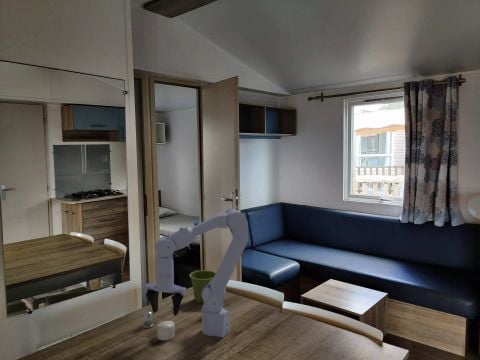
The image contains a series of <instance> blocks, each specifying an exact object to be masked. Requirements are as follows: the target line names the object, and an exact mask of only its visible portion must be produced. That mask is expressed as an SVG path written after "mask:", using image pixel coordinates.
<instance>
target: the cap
mask: <svg viewBox="0 0 480 360" xmlns="http://www.w3.org/2000/svg"><path fill="white" fill-rule="evenodd" d="M158 323H159V324H158V328H157V330H158V338H159V339H160V340H159V341H162V340H169V339H172V338H173V337H175V327H176V326H175V322H174V321H172V320H164V321H163V320H162V321H160V322H158Z"/></svg>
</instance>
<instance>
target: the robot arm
mask: <svg viewBox="0 0 480 360" xmlns="http://www.w3.org/2000/svg"><path fill="white" fill-rule="evenodd" d="M248 226H249V222H248V219H247V218H246V216H245V215H244V214H243V213H242V212H240V211H239V210H237V209H236V208H228V209H226V210H223V211H220V212H219V213H217V214H214V215H213V216H211V217H210V218H208V219H206V220H204V221H202V222H200V223H198V224H196V225H195V226H193V227H188V226H185V227H183V226H181V227H179V229H178V230H177V231H174V232H172V233H171V234H170V233H167V234H166V236H162V237H160V238H158V239H157V241H156V242H155V246H154V247H155V252H156V255H155V256H156V257H155V258H156V261H155V273H156V275H155V276H156V277H155V278H156V283H146V284H145V285H144V292H147V293H145V296H146V298H147V299H148V301H149V303H150V306H151V309H152V310H151V311H152V314H156V313H157V312H158V311H159V295H160V293H167V294H173V295H172V296H171V301H172V306H173V307H172V309H173V310H172V313H173V316H174V317H176V316H177V315H178V314H179V310H180V306H181V303H182V300H183V298H184V296H185V295H186V294H187V287H183V286H180V285H177V284H175V283H174V281H175V279H174V278H175V276H174V275H175V271H174V267H175V265H174V259H173V258H174V252H175V251H178V250H180V249H183V248H184V247H186V246H188V245H190V244H192V243H194V242H195V240H196V238H197V237H199V236H201V235H203V234H206V233H208V232H209V231H212V230H215V229H216V228H219V229H220V228H221V229H227V228H228V229H229V231H230V234H231V236H232V240H231V242H230V243H229V245H228V247H227V250H226V252H225V254H224V256H223V258H222V260H221V262H220V264H219V266H218V267H217V268H218V269H217V270H216V271H215V272H216V274H215V276H214V278H213V279H212V280H211V281H210V282H209V284H208V285H207V286H206V287H205V288H204V289H203V290H202V294H201V296H202V299H203V300H204V303H202V306H201V333H202V334H204V336H208V337H218V338H225V337H226V335H228V333H229V332H230V331H231V312H230V311H229V310H227V309H225V308H224V307H223V306H224V298H225V296H226V290H227V286H228V284H229V281H230V280H231V278H232V275H233V273H234V270H235V269H236V267H237V265H238V262H239V260H240V258H241V257H242V254H243V252H244V251H245V249H246V246H247V244H248V242H249V229H248V228H249V227H248Z"/></svg>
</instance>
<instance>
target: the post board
mask: <svg viewBox="0 0 480 360" xmlns="http://www.w3.org/2000/svg"><path fill="white" fill-rule="evenodd" d="M159 323H160V322H154V321H153V310H146V311H144V312H143V321H142V322H140V323H139V324H137V325H136V326H134V327H133V328H132V329H130V330H129V331H127V332H126V334H129V335H134V336H139V337H143V338H147V339H148V338H149V339H153V340H157V341H158V340H159V341H163V342H168V343H172V344H176V345H177V344H178V343H180V342H181V340H183V339H184V338H185V337H186V336H188V334H190V333H191V331H192V329H190V328H183V327H179V326H175V337H173V338H172V339H169V340H160V339H159V338H158V330H157V328H158V324H159Z"/></svg>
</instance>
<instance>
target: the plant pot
mask: <svg viewBox="0 0 480 360" xmlns="http://www.w3.org/2000/svg"><path fill="white" fill-rule="evenodd" d="M216 272H217V271H212V270H195V271H193V272H190V274H189V277H190V281H191V284H192V289H193V290H192V291H193V296H194V301H195V302H196V303H198V304H200V303H201V304H204V300H203V299H202V296H201V294H202V290H203V289H204V288H205V287H206V286H207V285H208V284H209V282H210V281H211V280H212V279H213V278H214V276H215V274H216Z"/></svg>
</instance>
